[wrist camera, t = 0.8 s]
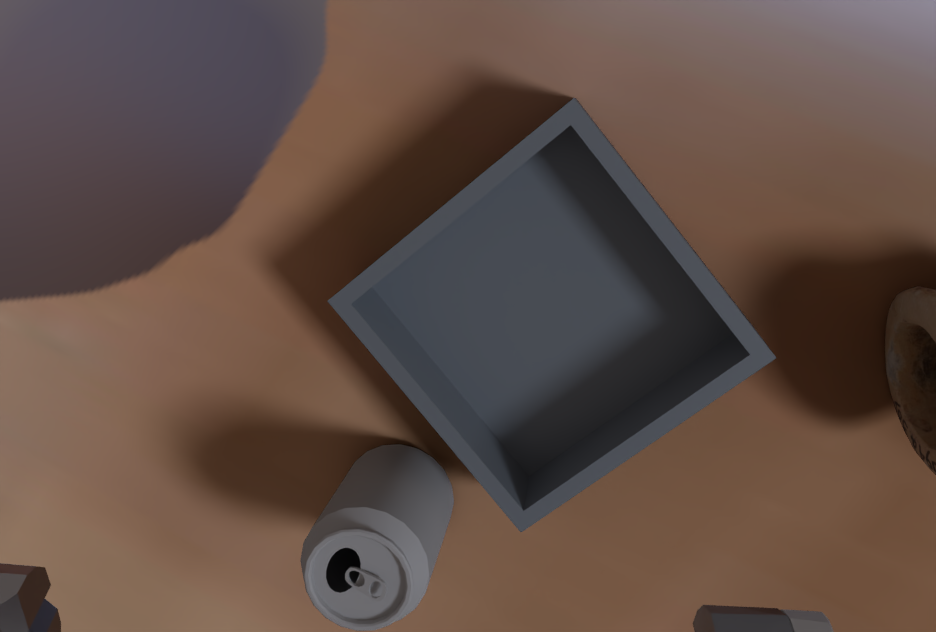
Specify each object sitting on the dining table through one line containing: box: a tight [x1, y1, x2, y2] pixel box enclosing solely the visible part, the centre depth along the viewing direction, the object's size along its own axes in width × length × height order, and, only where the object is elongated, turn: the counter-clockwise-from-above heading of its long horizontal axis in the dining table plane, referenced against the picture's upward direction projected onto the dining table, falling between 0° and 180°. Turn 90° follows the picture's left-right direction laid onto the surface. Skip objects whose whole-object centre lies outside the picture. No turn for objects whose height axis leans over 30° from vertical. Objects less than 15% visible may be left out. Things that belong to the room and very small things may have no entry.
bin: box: [328, 98, 776, 532], centre depth 53 cm, size 18×18×6 cm
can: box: [301, 444, 454, 631], centre depth 54 cm, size 8×8×12 cm
